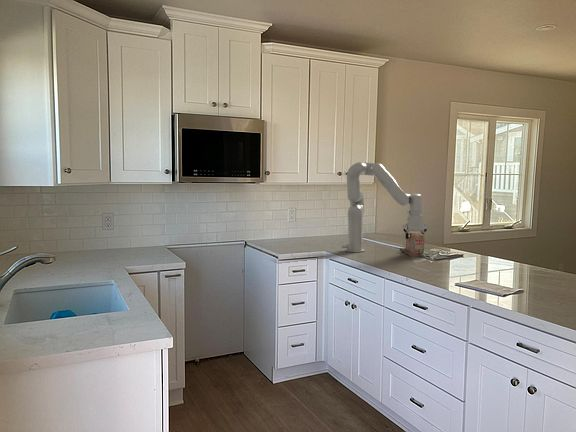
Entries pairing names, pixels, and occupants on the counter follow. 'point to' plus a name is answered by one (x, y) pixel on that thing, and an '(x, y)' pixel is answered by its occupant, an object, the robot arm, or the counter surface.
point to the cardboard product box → (415, 242)
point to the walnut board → (411, 253)
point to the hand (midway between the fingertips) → (414, 239)
